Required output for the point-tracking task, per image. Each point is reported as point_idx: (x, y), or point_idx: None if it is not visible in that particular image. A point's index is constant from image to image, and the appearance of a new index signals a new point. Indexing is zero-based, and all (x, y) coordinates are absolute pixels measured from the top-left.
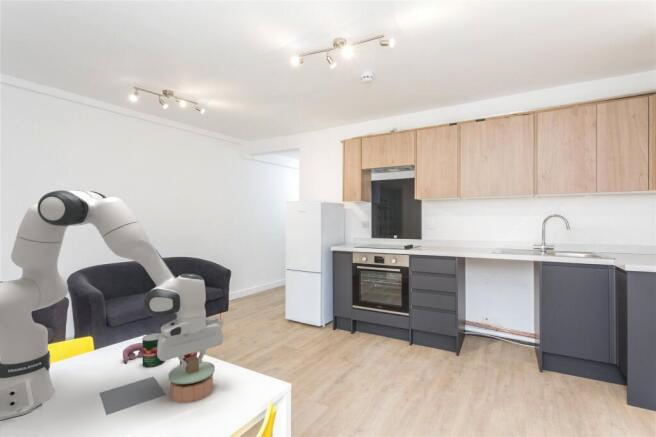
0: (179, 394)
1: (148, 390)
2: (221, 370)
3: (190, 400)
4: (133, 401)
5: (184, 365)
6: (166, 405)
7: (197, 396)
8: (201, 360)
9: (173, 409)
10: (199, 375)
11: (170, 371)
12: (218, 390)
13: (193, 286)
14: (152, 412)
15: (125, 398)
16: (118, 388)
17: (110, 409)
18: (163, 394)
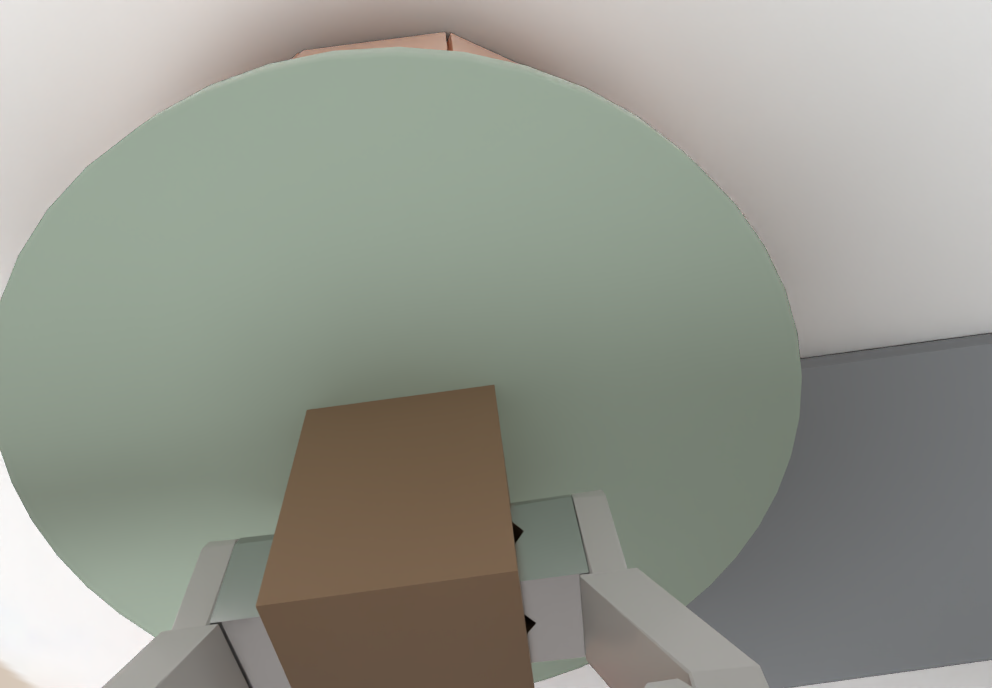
0: None
1: (780, 528)
2: (56, 573)
3: (492, 55)
4: (954, 414)
5: (589, 531)
6: (733, 181)
7: (397, 46)
8: (206, 581)
9: (702, 31)
10: (316, 220)
11: (704, 587)
12: None
13: None
14: (899, 119)
15: (975, 493)
16: (937, 650)
17: None
18: None
